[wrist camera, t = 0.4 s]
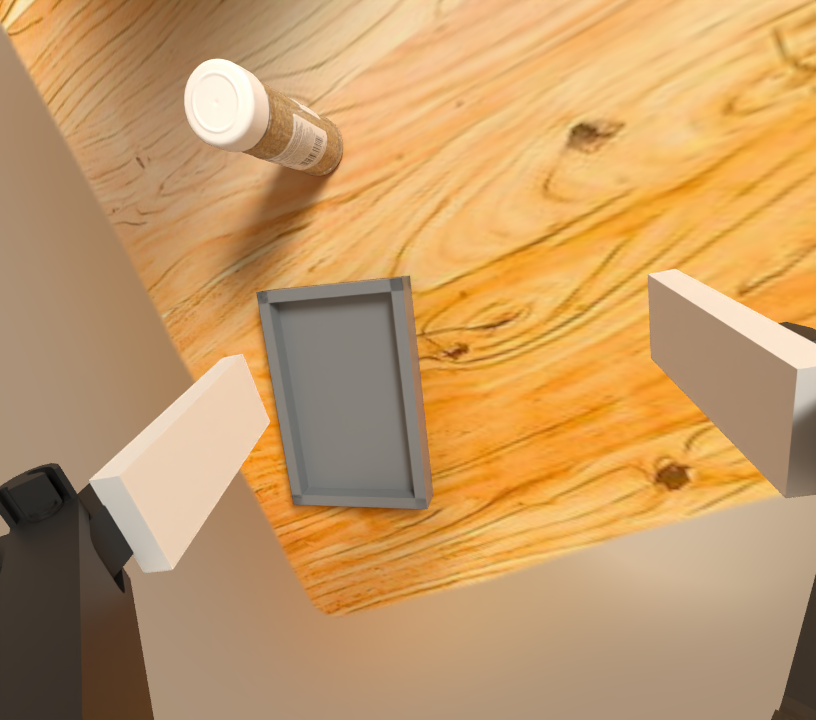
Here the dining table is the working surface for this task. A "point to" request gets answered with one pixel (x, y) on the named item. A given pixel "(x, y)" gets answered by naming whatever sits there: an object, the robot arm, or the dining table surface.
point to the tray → (349, 393)
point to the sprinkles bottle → (258, 120)
